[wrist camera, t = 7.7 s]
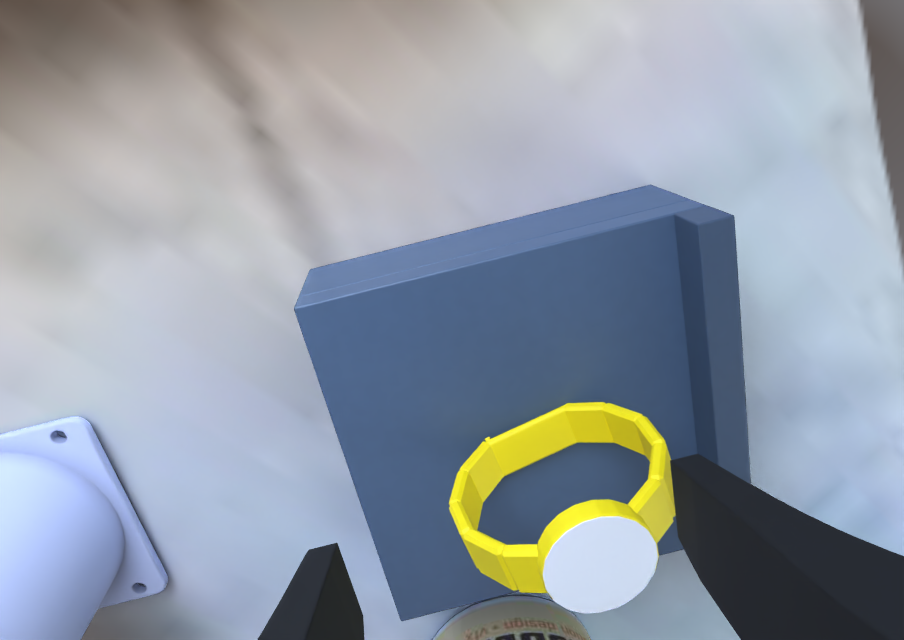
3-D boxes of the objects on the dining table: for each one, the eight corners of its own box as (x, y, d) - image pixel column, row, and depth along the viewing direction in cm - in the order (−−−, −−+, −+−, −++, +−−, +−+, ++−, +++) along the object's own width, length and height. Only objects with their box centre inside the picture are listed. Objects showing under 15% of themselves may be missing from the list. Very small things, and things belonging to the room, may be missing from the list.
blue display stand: (398, 544, 26) (402, 659, 20) (309, 269, 21) (284, 327, 16) (682, 471, 26) (756, 567, 21) (651, 183, 21) (734, 215, 16)
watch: (464, 503, 20) (493, 659, 15) (431, 435, 19) (449, 576, 14) (637, 433, 20) (732, 566, 15) (612, 361, 19) (705, 475, 14)
